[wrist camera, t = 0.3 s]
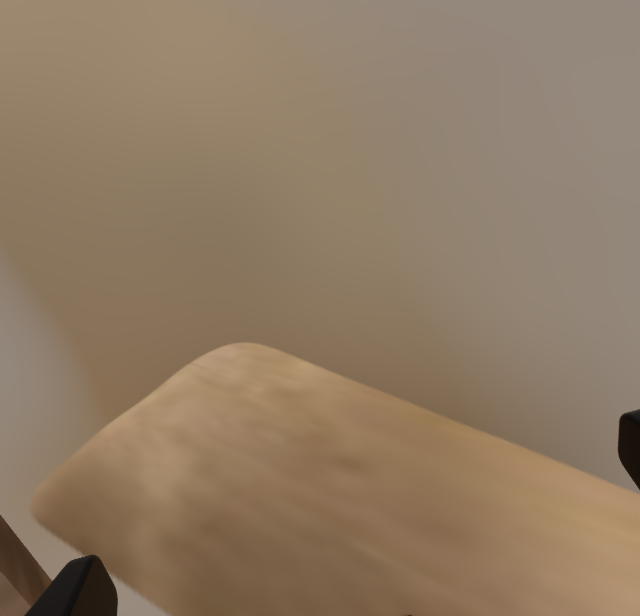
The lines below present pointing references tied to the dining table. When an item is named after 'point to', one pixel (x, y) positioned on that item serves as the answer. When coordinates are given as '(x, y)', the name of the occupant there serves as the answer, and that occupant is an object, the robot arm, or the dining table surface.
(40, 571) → the brown wooden block
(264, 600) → the dining table surface
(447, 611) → the dining table surface
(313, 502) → the dining table surface
